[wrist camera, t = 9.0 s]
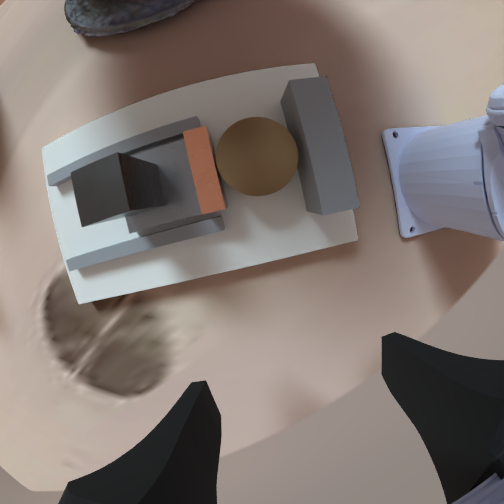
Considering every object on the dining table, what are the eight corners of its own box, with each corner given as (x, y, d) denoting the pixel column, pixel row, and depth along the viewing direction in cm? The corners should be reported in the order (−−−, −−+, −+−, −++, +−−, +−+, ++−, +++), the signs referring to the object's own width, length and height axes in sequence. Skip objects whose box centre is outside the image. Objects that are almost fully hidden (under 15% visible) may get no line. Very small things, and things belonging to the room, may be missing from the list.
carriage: (211, 135, 15) (192, 101, 9) (228, 206, 16) (219, 214, 10) (120, 164, 15) (62, 153, 9) (135, 231, 16) (82, 252, 10)
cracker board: (309, 71, 16) (329, 38, 11) (349, 236, 18) (383, 251, 14) (52, 150, 16) (11, 143, 11) (87, 297, 19) (53, 323, 14)
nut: (279, 124, 15) (287, 110, 12) (295, 188, 16) (306, 187, 13) (214, 138, 15) (208, 127, 13) (229, 202, 16) (226, 204, 13)
